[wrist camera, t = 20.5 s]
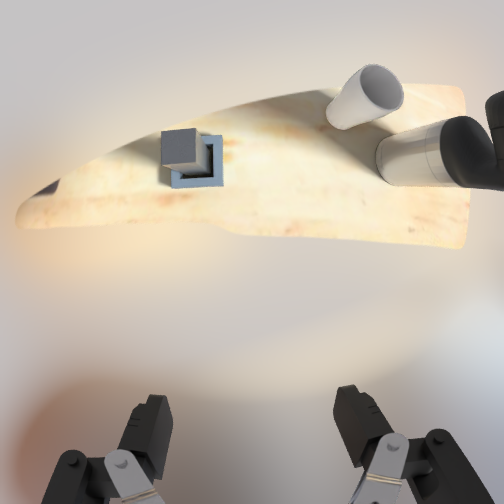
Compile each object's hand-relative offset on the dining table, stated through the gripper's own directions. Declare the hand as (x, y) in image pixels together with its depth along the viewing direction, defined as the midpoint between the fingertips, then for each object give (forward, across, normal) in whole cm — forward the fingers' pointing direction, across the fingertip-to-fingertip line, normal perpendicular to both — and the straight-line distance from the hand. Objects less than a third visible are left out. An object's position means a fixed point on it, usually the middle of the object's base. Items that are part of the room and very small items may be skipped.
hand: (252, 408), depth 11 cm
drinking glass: (+33, -17, -23) cm, 44 cm away
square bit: (+33, +6, -14) cm, 37 cm away
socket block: (+33, +6, -14) cm, 37 cm away
